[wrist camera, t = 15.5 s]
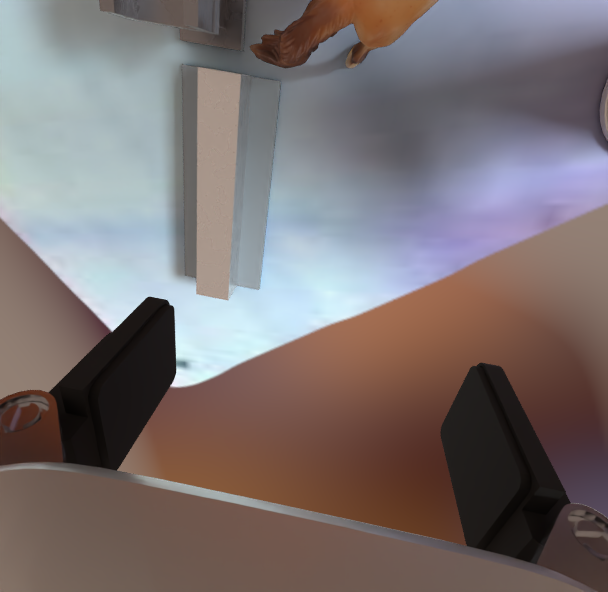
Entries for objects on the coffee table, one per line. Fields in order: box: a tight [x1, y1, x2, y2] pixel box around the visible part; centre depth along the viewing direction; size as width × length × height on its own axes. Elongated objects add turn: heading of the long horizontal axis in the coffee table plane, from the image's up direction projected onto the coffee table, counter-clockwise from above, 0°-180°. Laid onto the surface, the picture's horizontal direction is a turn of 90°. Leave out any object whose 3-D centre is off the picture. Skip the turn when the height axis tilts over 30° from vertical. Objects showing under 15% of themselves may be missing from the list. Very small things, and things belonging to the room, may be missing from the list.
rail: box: [196, 67, 252, 300], centre depth 41 cm, size 4×24×4 cm, turn 171°
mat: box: [182, 64, 281, 290], centre depth 43 cm, size 10×24×1 cm, turn 172°
